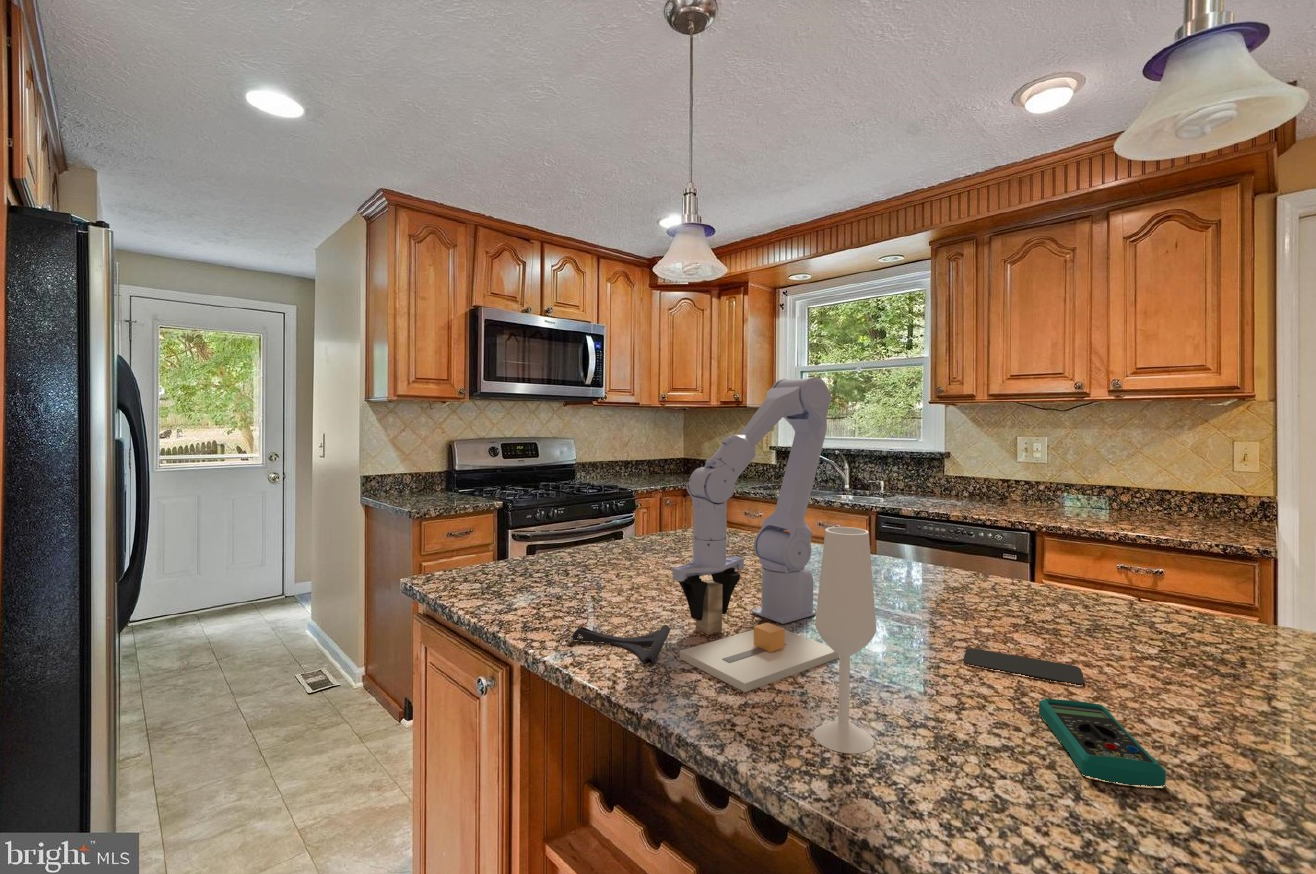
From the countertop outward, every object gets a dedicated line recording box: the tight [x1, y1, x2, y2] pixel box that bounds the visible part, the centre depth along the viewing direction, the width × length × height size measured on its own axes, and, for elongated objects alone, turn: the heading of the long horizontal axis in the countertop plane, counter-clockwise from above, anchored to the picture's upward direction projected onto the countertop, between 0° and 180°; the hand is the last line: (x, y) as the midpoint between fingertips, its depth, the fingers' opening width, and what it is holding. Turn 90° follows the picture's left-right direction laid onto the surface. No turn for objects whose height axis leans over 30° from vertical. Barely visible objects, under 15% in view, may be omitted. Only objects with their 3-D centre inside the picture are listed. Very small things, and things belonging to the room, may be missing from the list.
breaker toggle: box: [753, 622, 786, 652], centre depth 95 cm, size 3×4×3 cm
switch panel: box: [679, 629, 839, 693], centre depth 94 cm, size 20×14×1 cm
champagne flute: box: [813, 526, 877, 755], centre depth 71 cm, size 7×7×24 cm
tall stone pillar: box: [695, 579, 723, 635], centre depth 106 cm, size 3×3×8 cm
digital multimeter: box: [1038, 698, 1167, 786], centre depth 69 cm, size 7×15×3 cm, turn 165°
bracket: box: [572, 624, 671, 665], centre depth 100 cm, size 14×15×3 cm
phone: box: [962, 647, 1085, 685], centre depth 91 cm, size 7×1×15 cm
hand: (709, 615), depth 106 cm, fingers open, 5 cm apart
